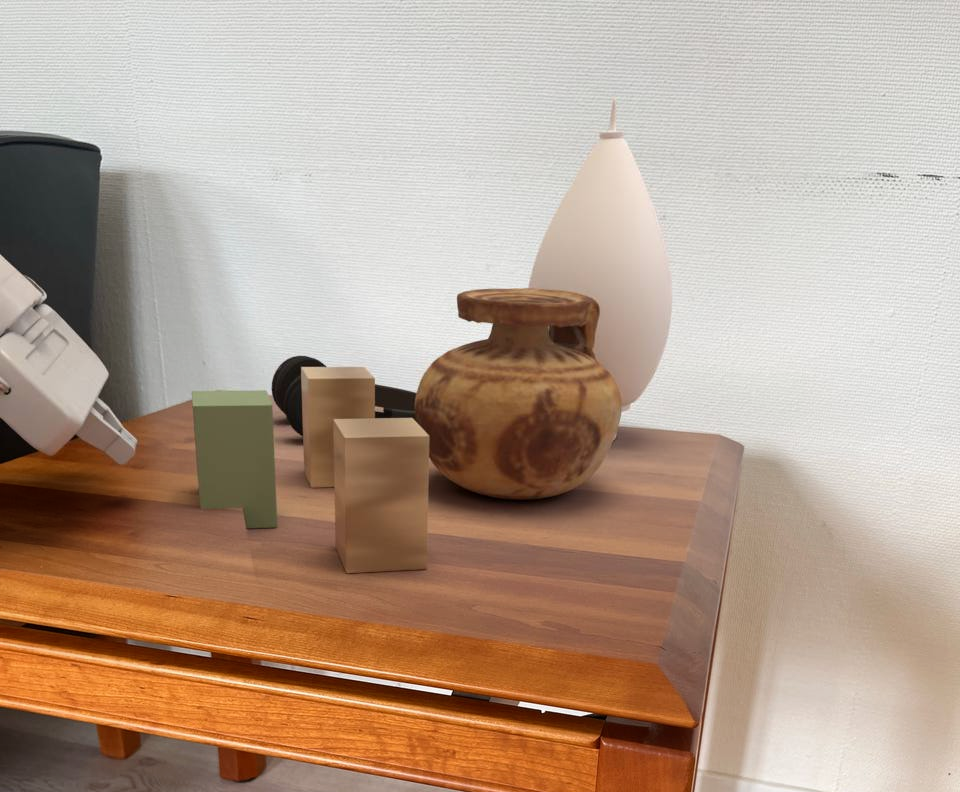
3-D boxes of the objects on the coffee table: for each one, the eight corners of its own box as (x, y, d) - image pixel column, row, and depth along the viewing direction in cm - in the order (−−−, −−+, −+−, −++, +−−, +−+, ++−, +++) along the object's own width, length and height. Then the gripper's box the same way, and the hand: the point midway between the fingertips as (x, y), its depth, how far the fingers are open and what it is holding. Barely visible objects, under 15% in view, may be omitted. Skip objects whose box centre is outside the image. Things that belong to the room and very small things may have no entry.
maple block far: (311, 487, 94) (307, 378, 90) (304, 471, 100) (300, 366, 96) (375, 485, 96) (375, 377, 92) (365, 469, 101) (364, 366, 97)
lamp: (677, 451, 114) (721, 97, 99) (541, 454, 110) (565, 86, 96) (627, 421, 128) (658, 106, 113) (504, 422, 124) (521, 97, 110)
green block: (201, 530, 82) (192, 405, 78) (200, 509, 87) (191, 390, 83) (277, 527, 83) (272, 404, 79) (271, 506, 89) (266, 390, 85)
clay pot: (538, 501, 82) (479, 251, 80) (401, 533, 97) (347, 321, 94) (678, 464, 95) (631, 246, 92) (538, 497, 109) (494, 309, 106)
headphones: (271, 346, 119) (434, 372, 126) (264, 410, 122) (424, 431, 129) (293, 371, 104) (475, 398, 112) (284, 443, 107) (463, 465, 114)
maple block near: (346, 573, 74) (344, 437, 70) (335, 547, 80) (333, 418, 76) (427, 569, 76) (429, 435, 72) (410, 543, 81) (412, 417, 77)
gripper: (-19, 308, 65) (151, 462, 71) (34, 275, 83) (165, 400, 89) (-86, 377, 66) (88, 523, 72) (-19, 329, 84) (115, 449, 90)
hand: (131, 455), depth 81 cm, fingers closed
